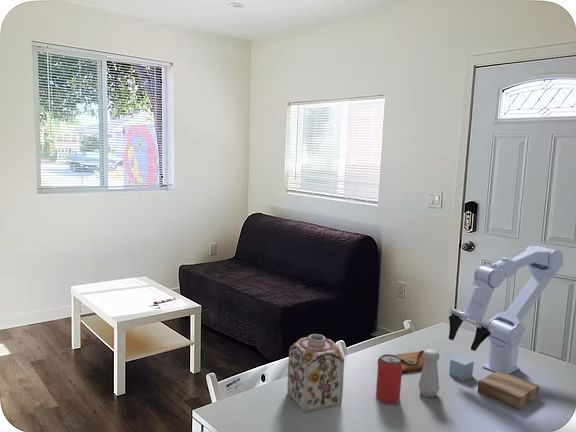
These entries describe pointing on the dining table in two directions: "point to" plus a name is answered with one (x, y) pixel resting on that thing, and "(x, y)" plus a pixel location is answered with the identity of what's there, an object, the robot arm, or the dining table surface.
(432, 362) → the salt shaker
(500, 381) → the wooden block
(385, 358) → the beer can
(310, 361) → the decorative jar
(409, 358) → the sunglasses case
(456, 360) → the blue cube
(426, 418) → the dining table surface
